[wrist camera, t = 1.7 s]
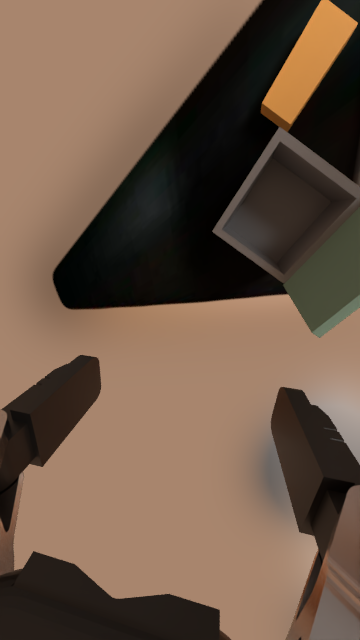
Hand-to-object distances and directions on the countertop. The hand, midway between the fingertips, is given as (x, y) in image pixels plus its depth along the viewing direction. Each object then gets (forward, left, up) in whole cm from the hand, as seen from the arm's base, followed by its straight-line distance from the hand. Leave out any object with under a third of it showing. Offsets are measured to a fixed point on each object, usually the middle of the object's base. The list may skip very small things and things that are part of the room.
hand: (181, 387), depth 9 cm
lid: (-9, +7, -16) cm, 19 cm away
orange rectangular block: (-20, -6, -29) cm, 36 cm away
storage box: (-9, +1, -29) cm, 30 cm away
